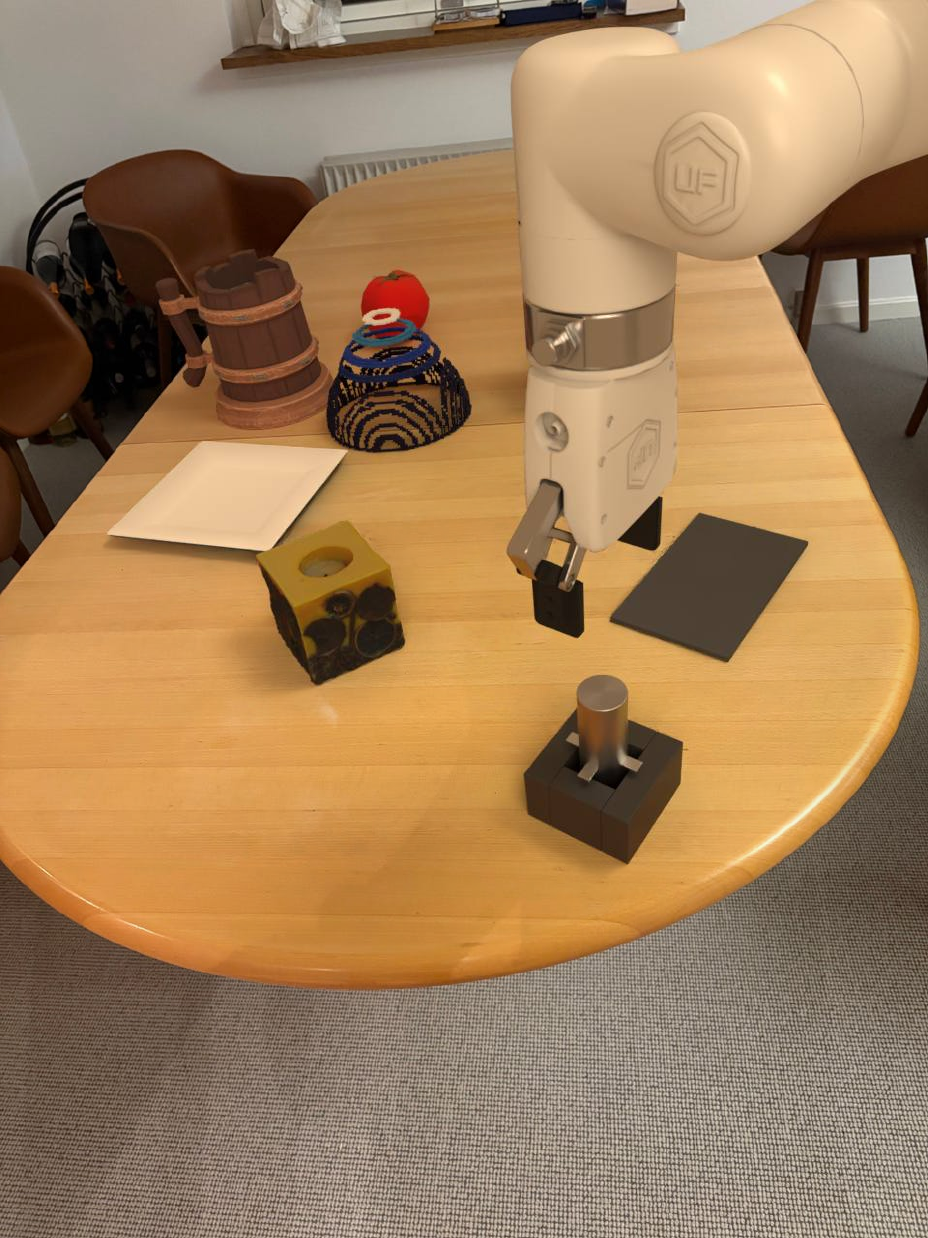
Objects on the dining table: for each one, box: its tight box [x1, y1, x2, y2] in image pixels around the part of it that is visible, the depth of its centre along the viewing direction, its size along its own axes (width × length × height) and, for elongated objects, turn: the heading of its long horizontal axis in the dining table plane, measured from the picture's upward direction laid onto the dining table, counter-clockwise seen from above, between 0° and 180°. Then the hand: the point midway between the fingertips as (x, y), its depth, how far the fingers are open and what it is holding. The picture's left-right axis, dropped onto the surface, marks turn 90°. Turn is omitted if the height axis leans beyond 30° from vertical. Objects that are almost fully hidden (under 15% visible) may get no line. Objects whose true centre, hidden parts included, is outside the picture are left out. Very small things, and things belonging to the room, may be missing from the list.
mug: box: [155, 248, 335, 430], centre depth 126 cm, size 18×23×20 cm
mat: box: [609, 512, 809, 663], centre depth 88 cm, size 12×20×1 cm, turn 144°
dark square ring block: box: [523, 707, 684, 865], centre depth 68 cm, size 9×9×5 cm
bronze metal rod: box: [566, 674, 643, 790], centre depth 66 cm, size 6×6×12 cm
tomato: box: [360, 269, 430, 338], centre depth 142 cm, size 11×13×10 cm
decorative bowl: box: [325, 308, 472, 454], centre depth 119 cm, size 20×20×14 cm
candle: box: [255, 520, 406, 686], centre depth 85 cm, size 10×10×10 cm
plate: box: [106, 440, 349, 553], centre depth 110 cm, size 22×22×2 cm
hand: (599, 583), depth 56 cm, fingers open, 9 cm apart
